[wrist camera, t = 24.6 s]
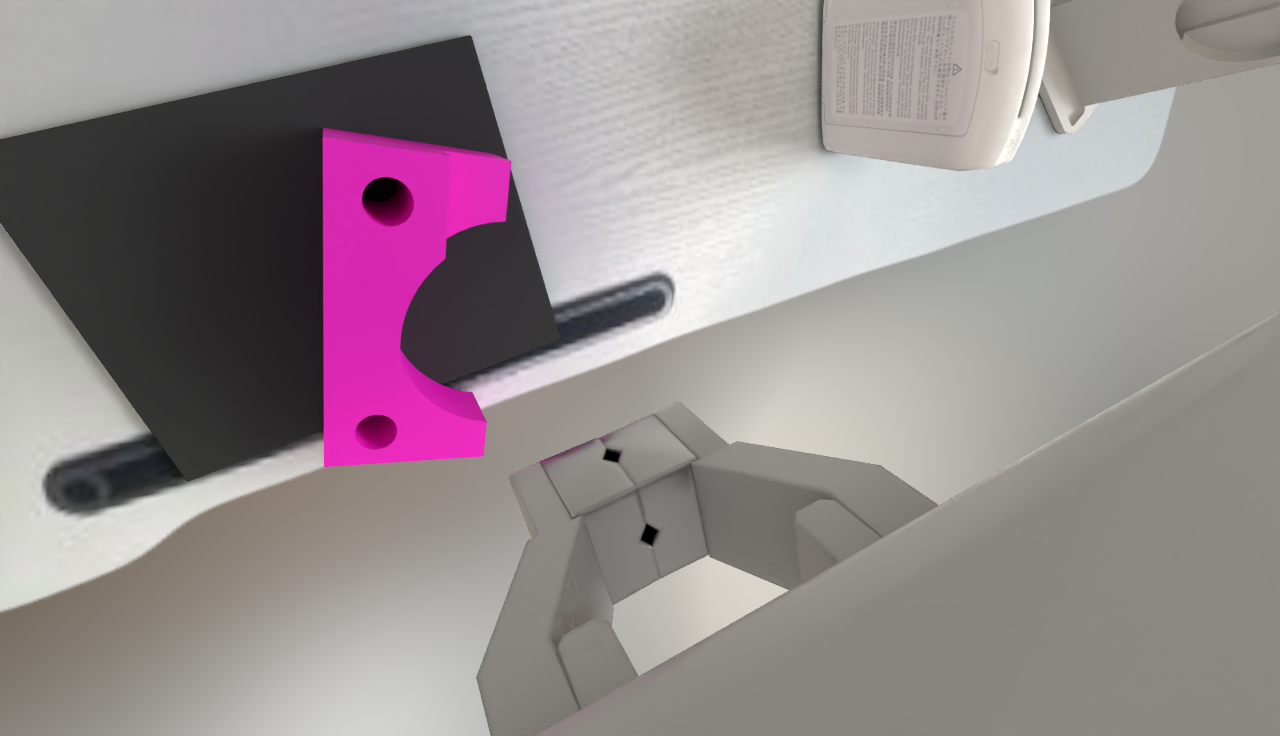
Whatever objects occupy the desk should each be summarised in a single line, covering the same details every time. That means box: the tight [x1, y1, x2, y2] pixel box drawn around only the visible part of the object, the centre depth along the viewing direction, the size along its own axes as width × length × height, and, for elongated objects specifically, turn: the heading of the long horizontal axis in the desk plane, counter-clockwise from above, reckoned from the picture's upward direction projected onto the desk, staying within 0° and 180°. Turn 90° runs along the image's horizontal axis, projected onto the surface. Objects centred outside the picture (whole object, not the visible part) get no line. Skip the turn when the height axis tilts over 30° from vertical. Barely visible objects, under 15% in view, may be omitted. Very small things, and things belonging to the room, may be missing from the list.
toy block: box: [323, 128, 511, 467], centre depth 29 cm, size 15×6×8 cm
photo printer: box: [822, 0, 1050, 171], centre depth 33 cm, size 10×4×12 cm, turn 9°
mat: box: [0, 35, 560, 481], centre depth 30 cm, size 20×16×1 cm
